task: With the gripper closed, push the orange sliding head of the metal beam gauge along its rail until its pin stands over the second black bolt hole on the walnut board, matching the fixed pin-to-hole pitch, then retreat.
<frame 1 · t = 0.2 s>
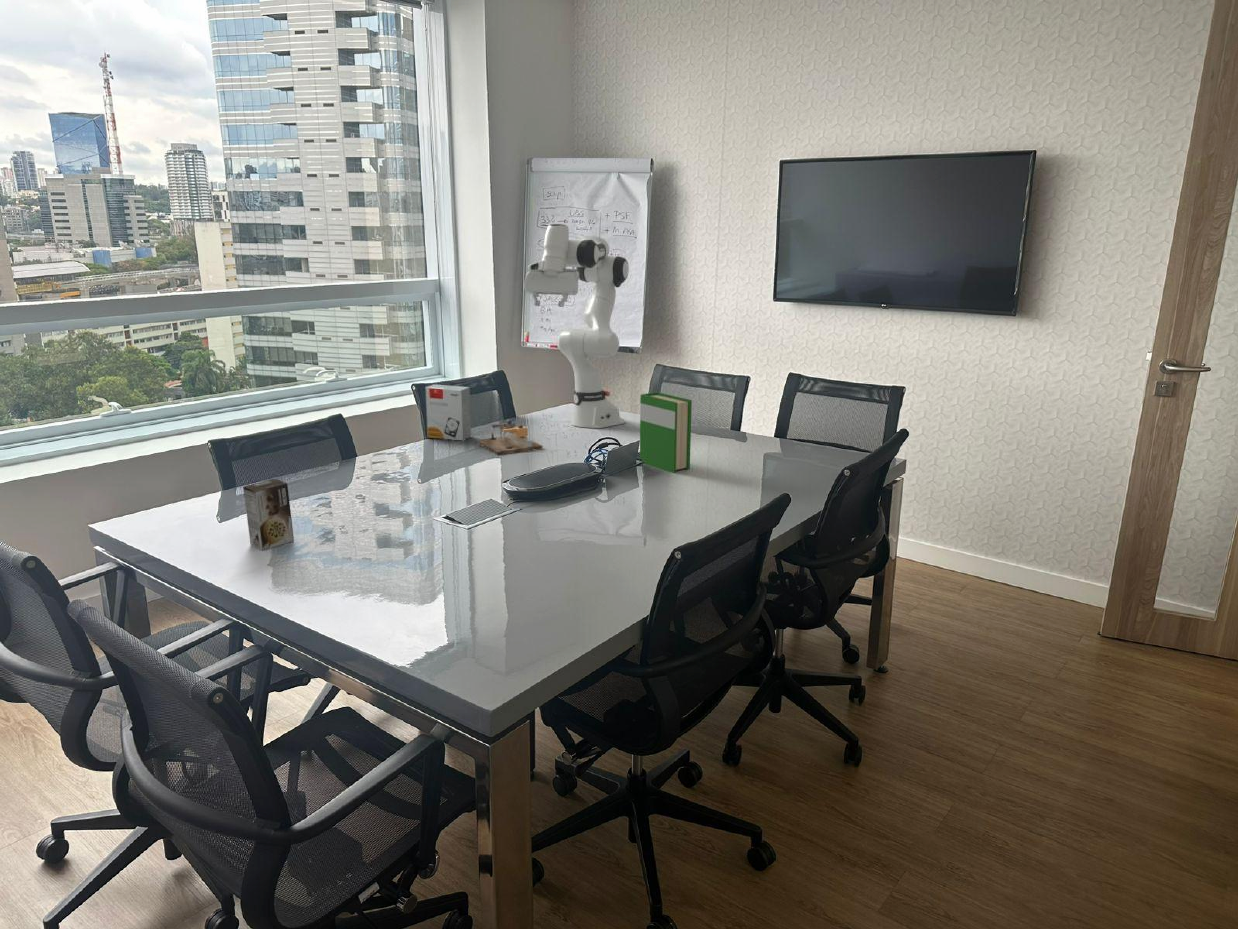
hand: (548, 306, 310), 52 cm above the table, tool tilted 20°, fingers open, 8 cm apart
hardback book: (664, 466, 299), on the table
cookie box: (272, 544, 225), on the table
hard drive box: (449, 438, 335), on the table
sliding head: (514, 433, 321), point 5 cm above the table, slide at 0.0 cm
hole board: (509, 445, 323), on the table
trammel beam: (511, 433, 323), on the hole board, point 4 cm above the table
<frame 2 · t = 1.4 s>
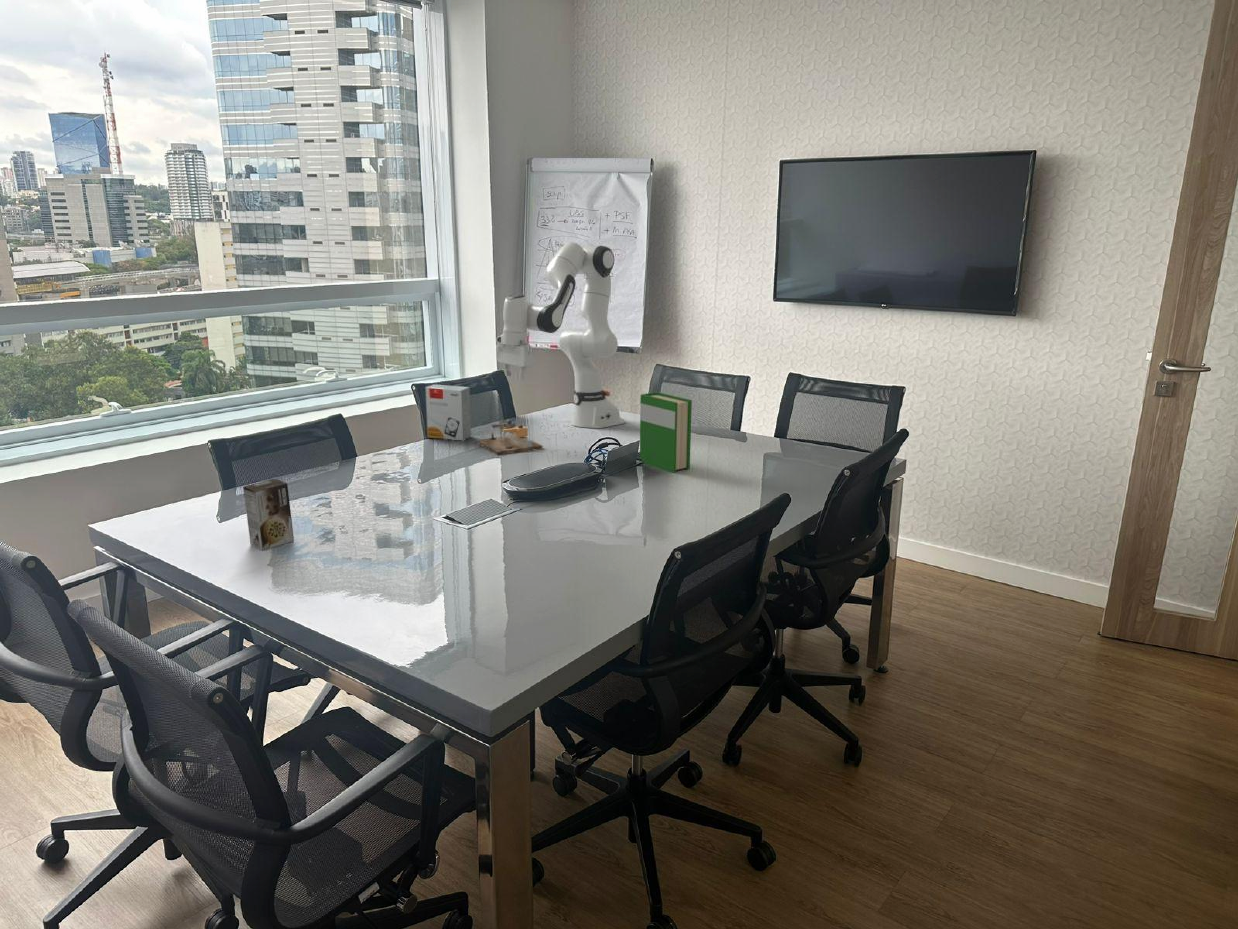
hand: (514, 377, 319), 25 cm above the table, tool pointing down, fingers open, 8 cm apart
nothing on the table moved.
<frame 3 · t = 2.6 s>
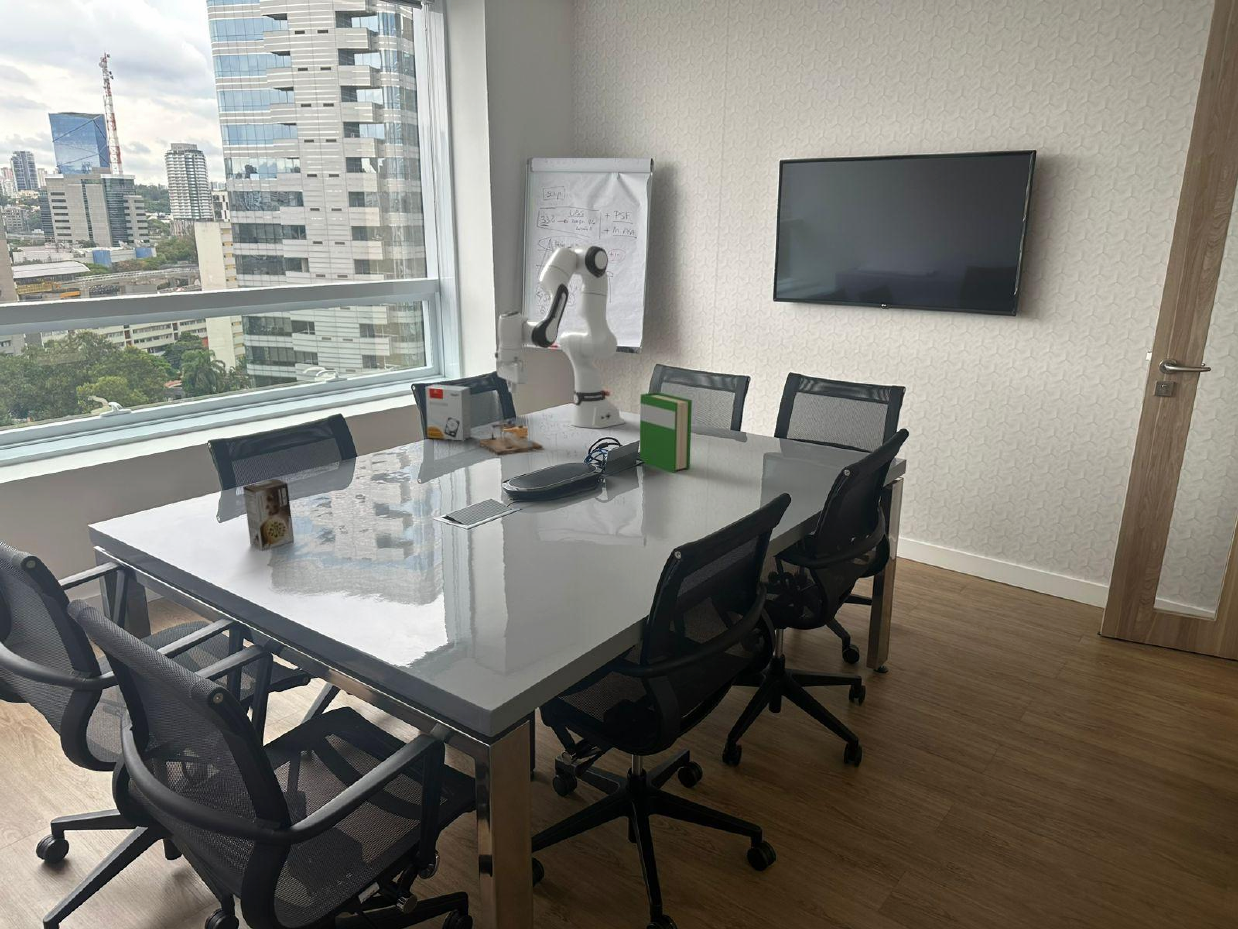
hand: (512, 392, 324), 19 cm above the table, tool pointing down, fingers closed
nothing on the table moved.
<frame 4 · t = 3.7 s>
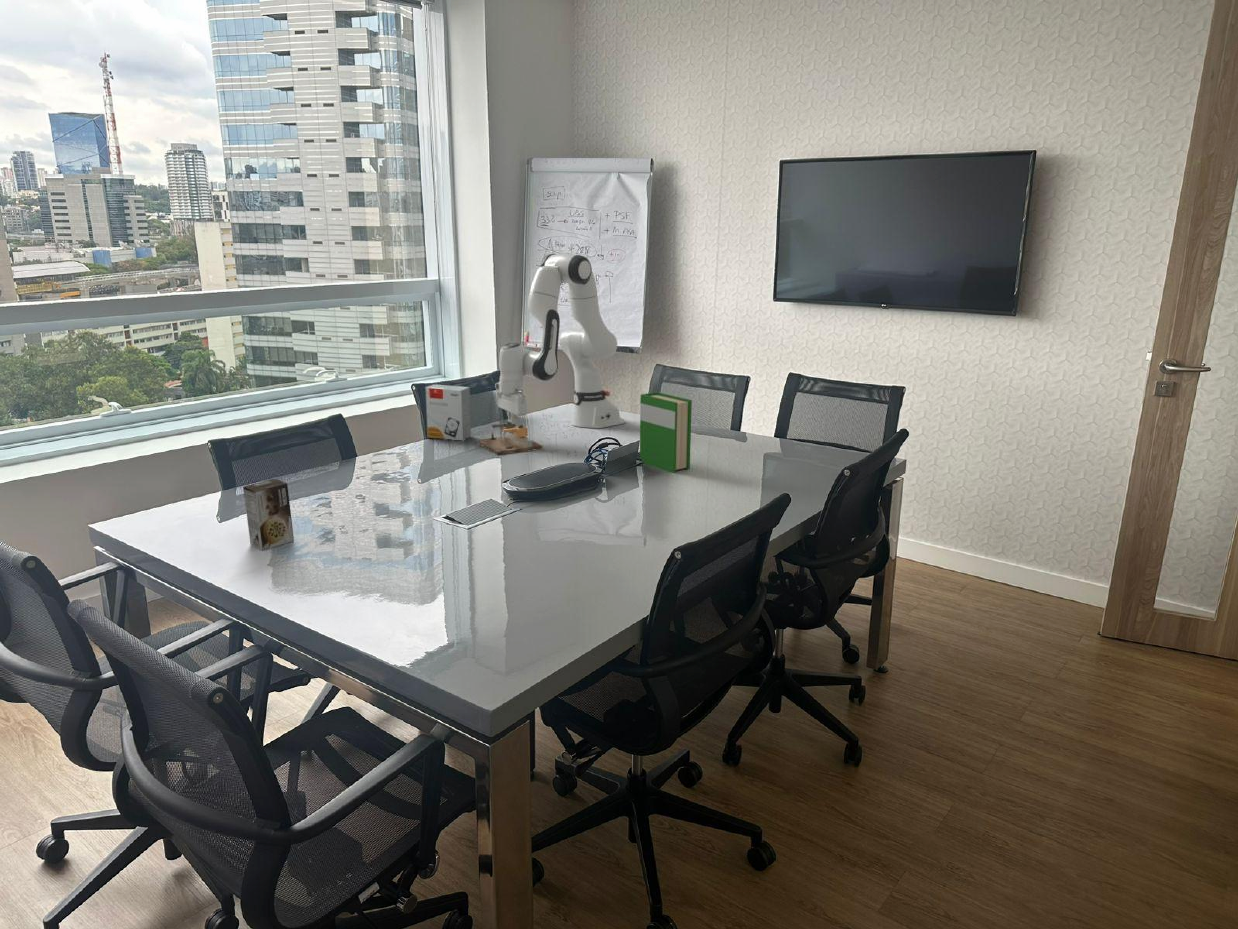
hand: (512, 423, 327), 7 cm above the table, tool pointing down, fingers closed
nothing on the table moved.
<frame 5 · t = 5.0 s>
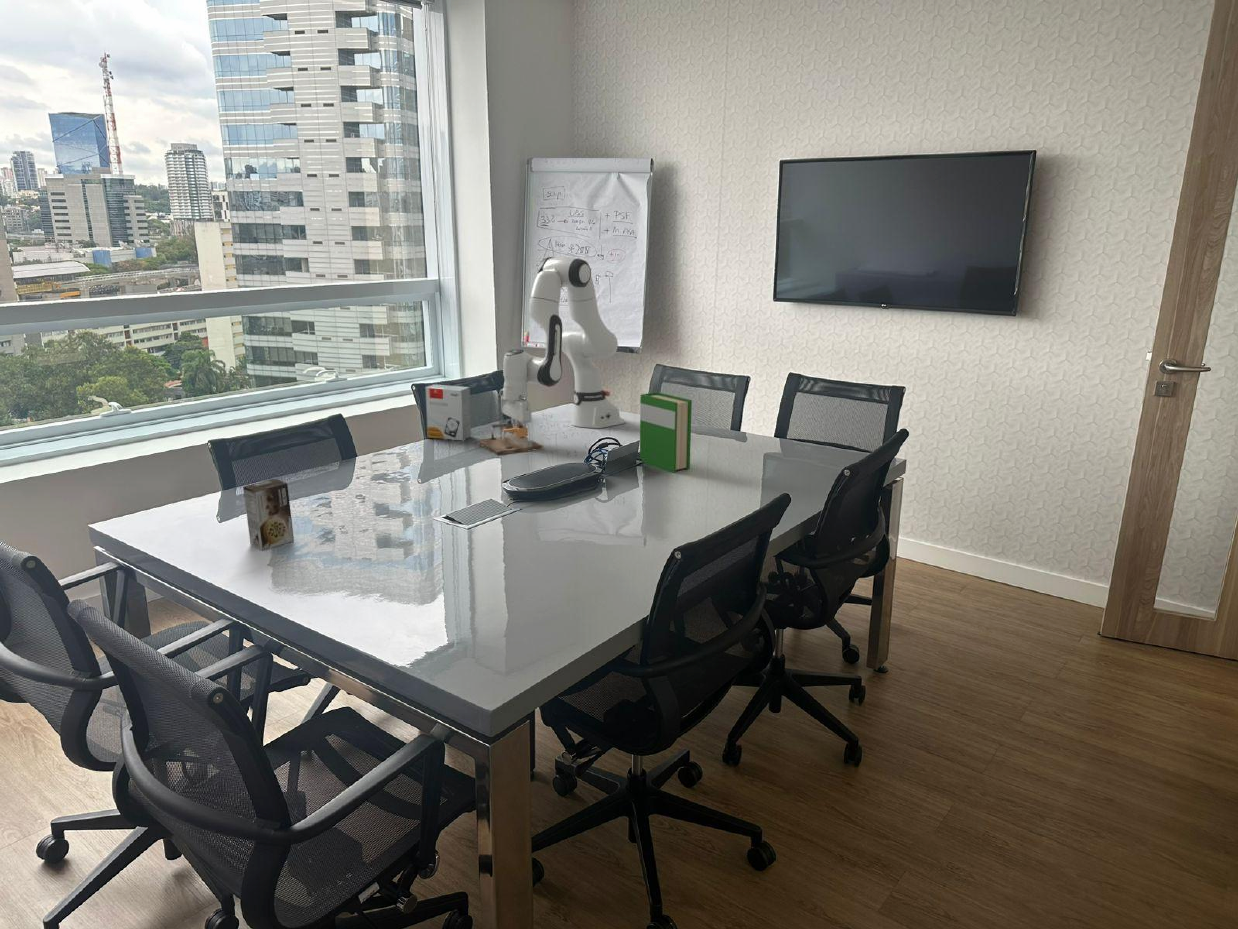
hand: (516, 429, 325), 5 cm above the table, tool pointing down, fingers closed
sliding head: (514, 433, 321), point 5 cm above the table, slide at 0.1 cm, touching gripper
everything else where it was.
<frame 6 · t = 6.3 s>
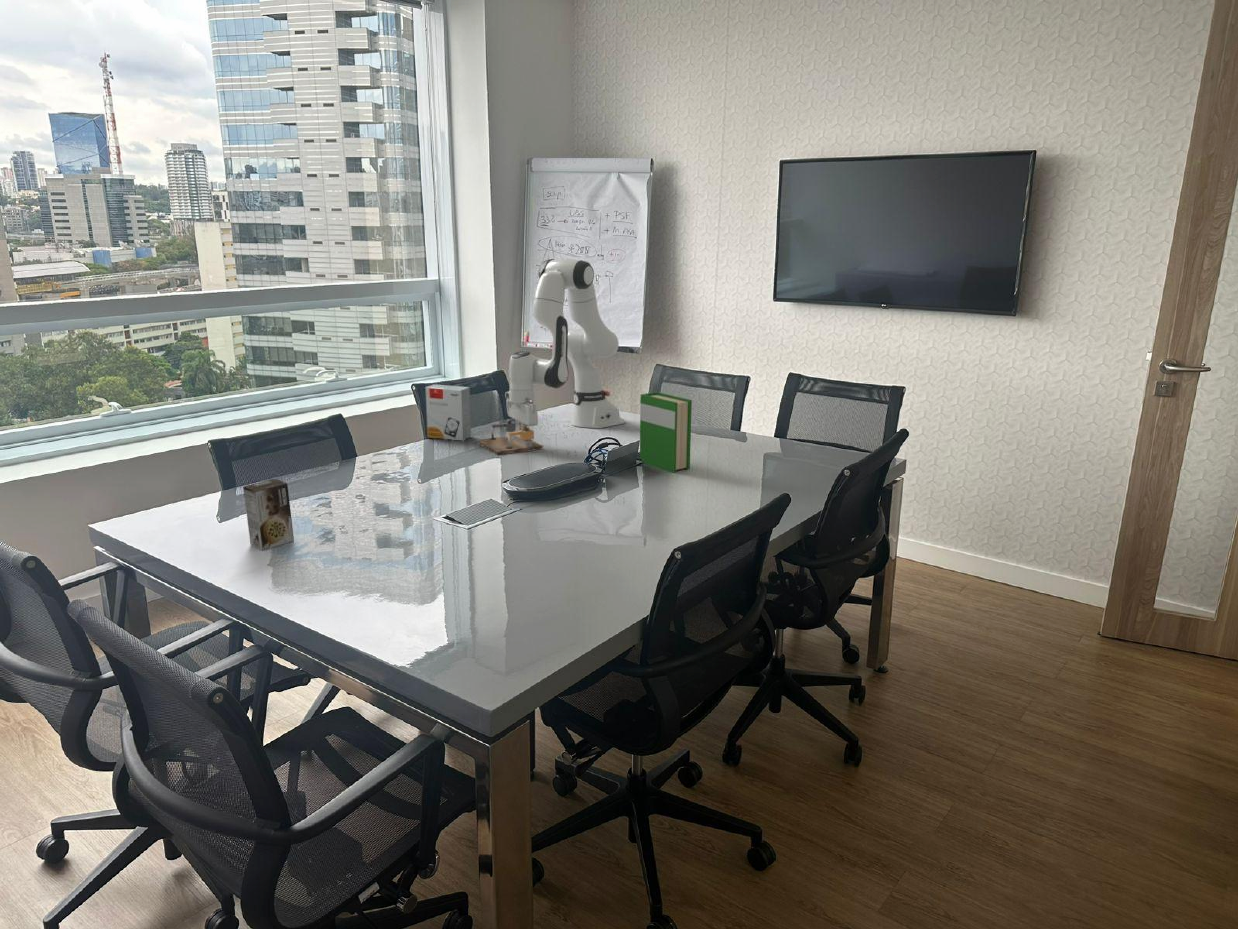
hand: (522, 433, 320), 5 cm above the table, tool pointing down, fingers closed
sliding head: (520, 436, 317), point 5 cm above the table, slide at 5.4 cm, touching gripper
everything else where it was.
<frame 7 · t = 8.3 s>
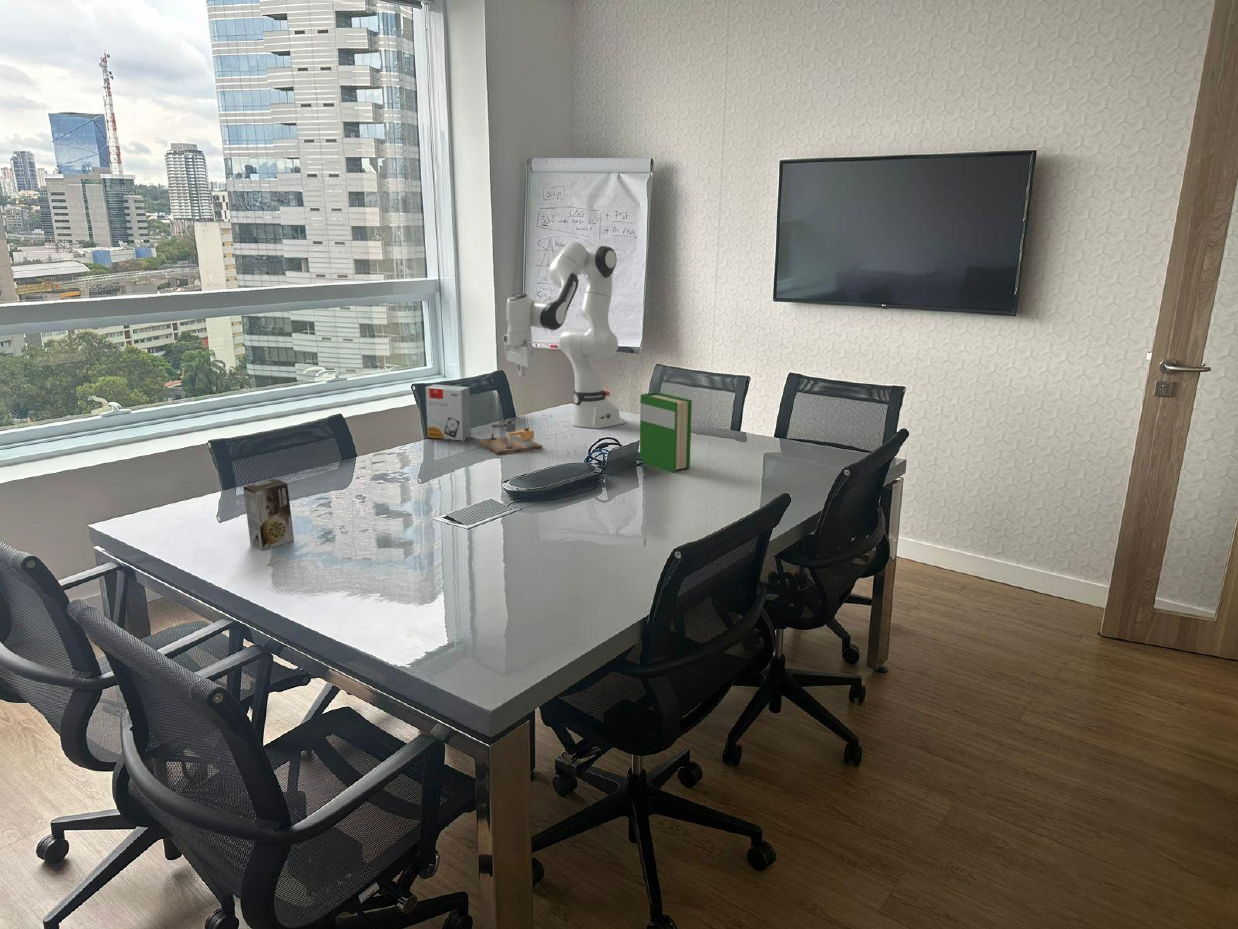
hand: (521, 375, 323), 25 cm above the table, tool pointing down, fingers closed
sliding head: (520, 436, 317), point 5 cm above the table, slide at 5.4 cm
everything else where it was.
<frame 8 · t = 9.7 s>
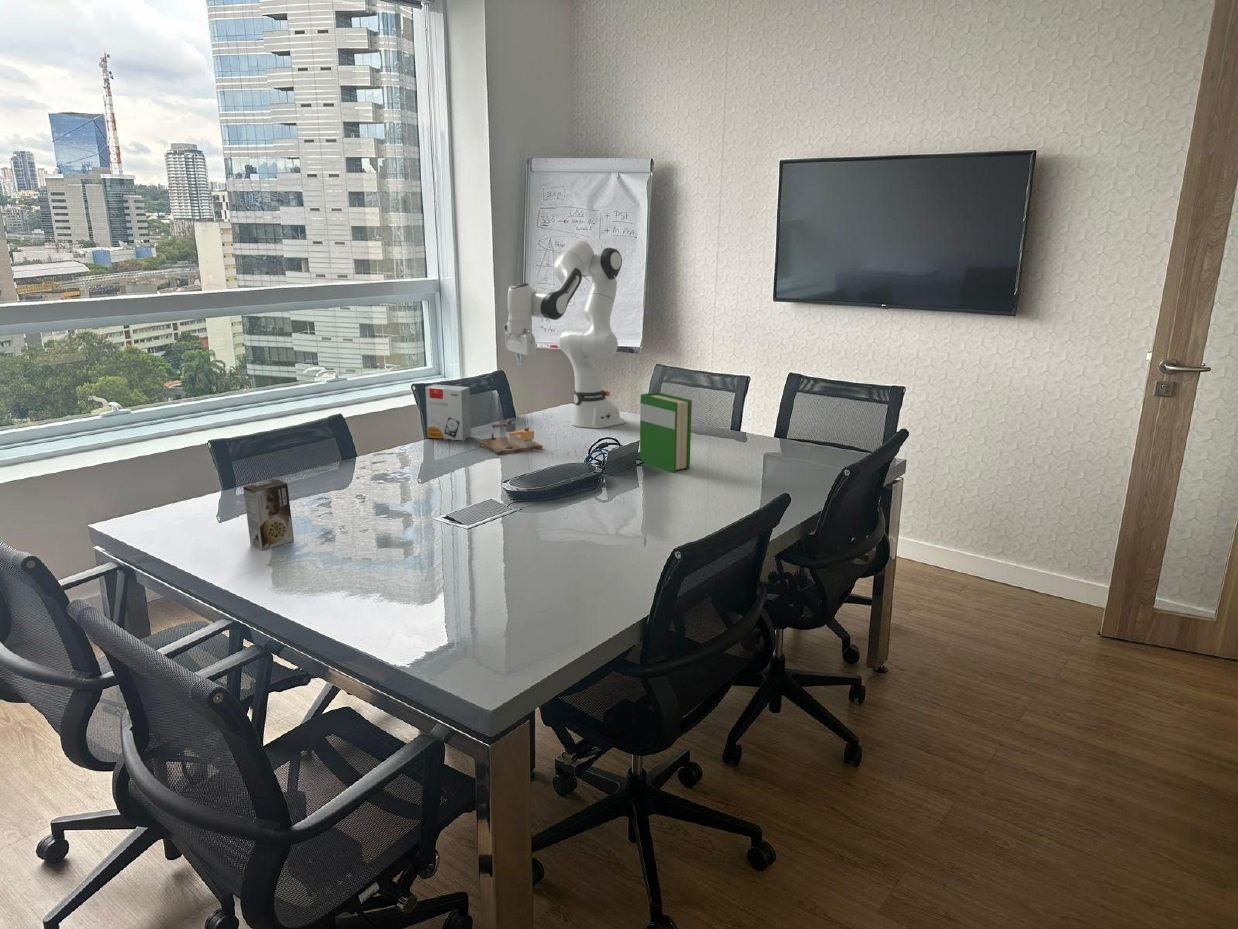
hand: (521, 364, 324), 29 cm above the table, tool pointing down, fingers closed
nothing on the table moved.
at the end: sliding head slide at 5.4 cm; sliding head touching nothing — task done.
